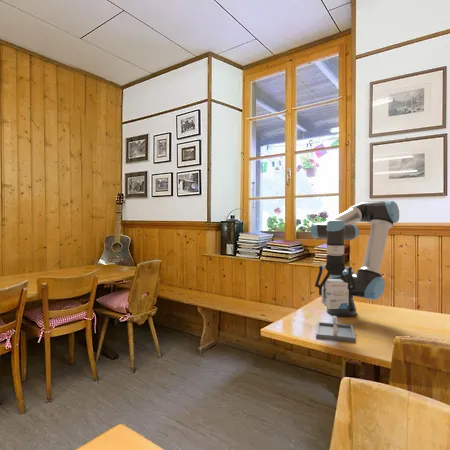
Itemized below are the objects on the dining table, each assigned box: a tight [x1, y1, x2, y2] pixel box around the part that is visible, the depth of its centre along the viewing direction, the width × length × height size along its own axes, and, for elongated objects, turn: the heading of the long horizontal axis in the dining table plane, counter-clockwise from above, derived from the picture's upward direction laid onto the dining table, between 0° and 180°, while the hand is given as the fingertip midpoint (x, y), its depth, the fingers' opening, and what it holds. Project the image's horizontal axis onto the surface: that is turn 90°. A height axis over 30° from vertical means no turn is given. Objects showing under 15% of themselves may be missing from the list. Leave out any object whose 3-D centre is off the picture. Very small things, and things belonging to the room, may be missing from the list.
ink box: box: [322, 278, 348, 309], centre depth 145 cm, size 9×8×12 cm
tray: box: [315, 315, 356, 343], centre depth 146 cm, size 16×16×6 cm
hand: (334, 303), depth 145 cm, fingers closed on ink box, 10 cm apart
